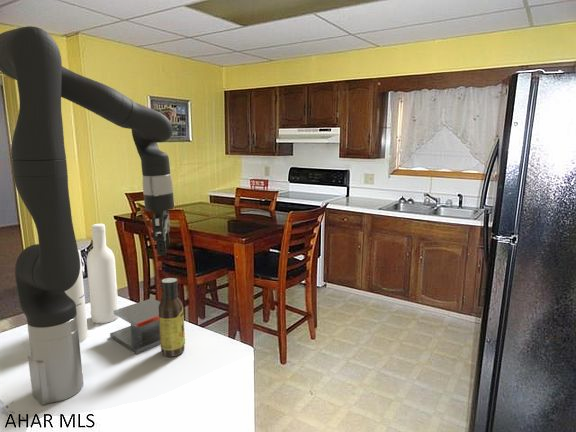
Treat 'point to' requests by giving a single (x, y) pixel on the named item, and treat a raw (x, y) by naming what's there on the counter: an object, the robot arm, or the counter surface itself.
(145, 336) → the grey piece
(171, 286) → the sauce bottle
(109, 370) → the counter surface
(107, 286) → the bottle
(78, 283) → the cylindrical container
